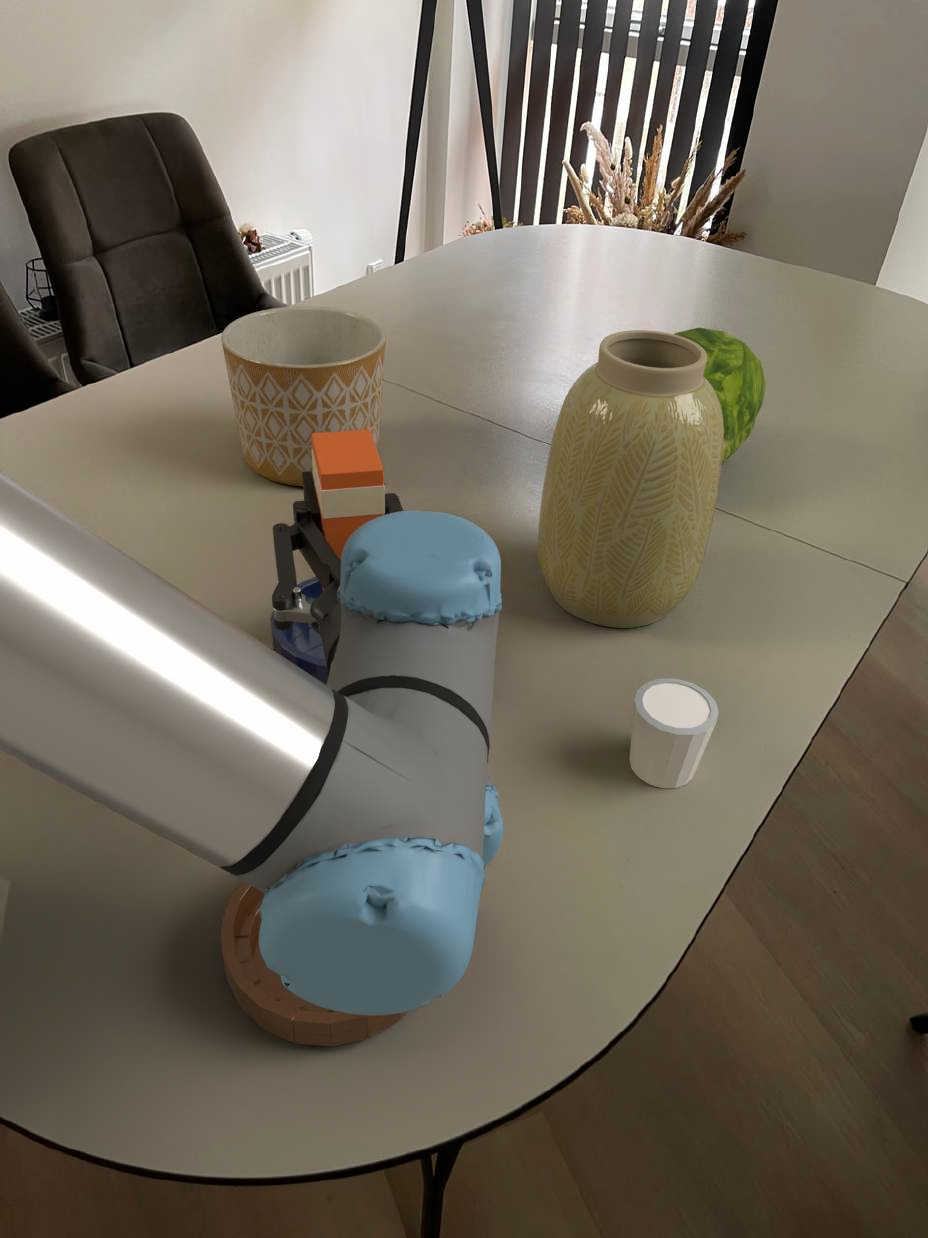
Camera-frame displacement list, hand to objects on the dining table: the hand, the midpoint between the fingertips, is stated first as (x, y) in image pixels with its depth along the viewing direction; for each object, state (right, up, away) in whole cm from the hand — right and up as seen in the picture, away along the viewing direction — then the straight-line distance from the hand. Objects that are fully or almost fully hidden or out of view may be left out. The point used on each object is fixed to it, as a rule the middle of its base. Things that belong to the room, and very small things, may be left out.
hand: (339, 484), depth 78 cm
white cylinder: (+27, -24, +4) cm, 36 cm away
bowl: (+1, -34, -12) cm, 36 cm away
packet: (+1, -9, 0) cm, 9 cm away
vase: (+26, -8, +24) cm, 37 cm away
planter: (-10, +10, +45) cm, 47 cm away
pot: (0, -15, +13) cm, 20 cm away
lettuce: (+38, +8, +47) cm, 61 cm away
